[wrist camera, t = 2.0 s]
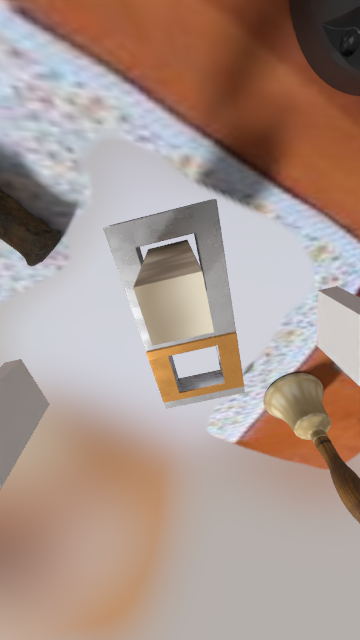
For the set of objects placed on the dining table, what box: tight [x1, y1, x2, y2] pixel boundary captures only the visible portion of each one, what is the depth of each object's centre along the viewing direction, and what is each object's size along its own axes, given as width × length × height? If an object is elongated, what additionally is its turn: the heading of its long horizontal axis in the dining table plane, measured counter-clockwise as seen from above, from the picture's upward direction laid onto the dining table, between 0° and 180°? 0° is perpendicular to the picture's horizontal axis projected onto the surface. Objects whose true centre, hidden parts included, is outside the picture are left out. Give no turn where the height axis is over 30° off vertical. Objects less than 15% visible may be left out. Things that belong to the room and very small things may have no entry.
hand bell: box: [264, 373, 360, 523], centre depth 27 cm, size 8×8×16 cm
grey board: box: [103, 199, 245, 408], centre depth 27 cm, size 10×22×3 cm, turn 13°
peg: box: [133, 240, 214, 346], centre depth 20 cm, size 4×4×12 cm
